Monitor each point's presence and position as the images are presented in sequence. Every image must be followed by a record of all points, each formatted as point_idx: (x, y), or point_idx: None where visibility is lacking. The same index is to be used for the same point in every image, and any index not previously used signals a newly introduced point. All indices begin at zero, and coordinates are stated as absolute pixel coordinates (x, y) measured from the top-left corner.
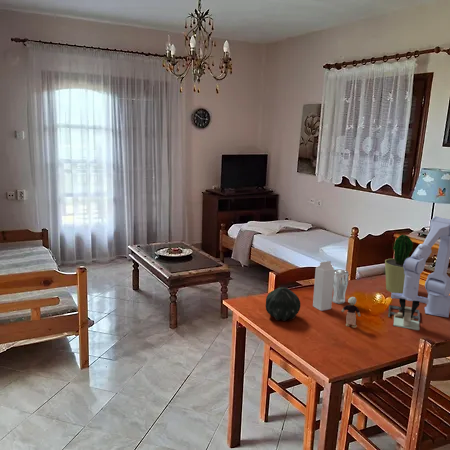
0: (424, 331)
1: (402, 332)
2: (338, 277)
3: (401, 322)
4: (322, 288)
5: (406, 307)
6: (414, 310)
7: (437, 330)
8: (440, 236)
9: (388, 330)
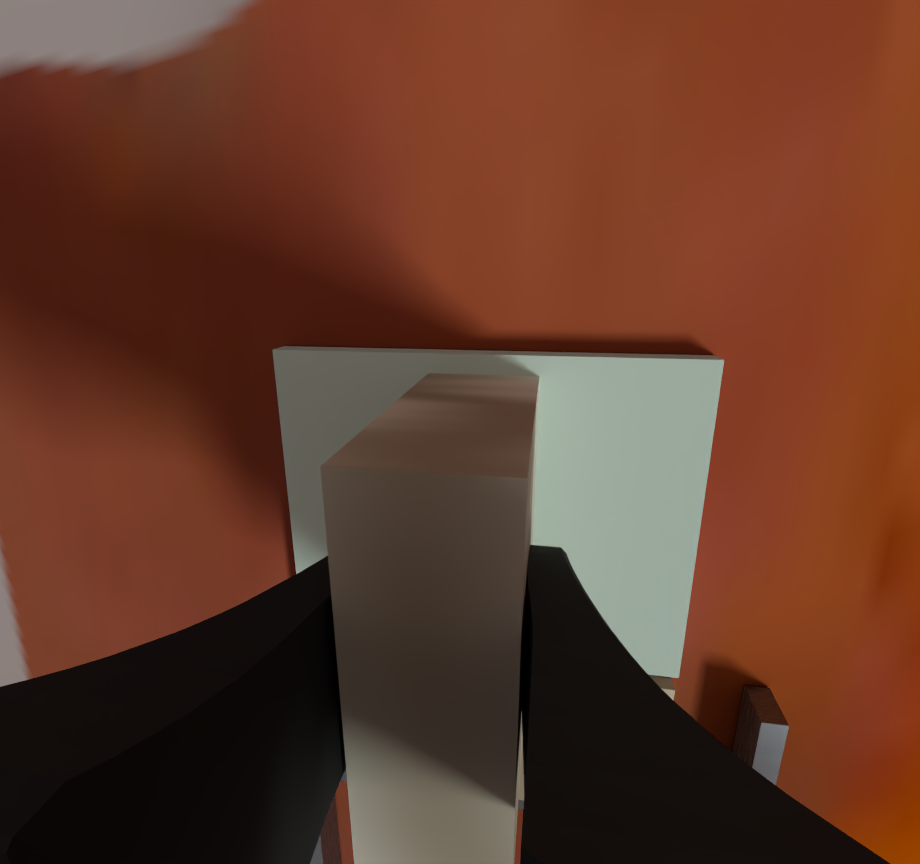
0: (212, 342)
1: (560, 101)
2: None
3: (564, 510)
4: None
5: (471, 845)
6: (216, 623)
7: (67, 458)
8: None
9: (862, 52)
